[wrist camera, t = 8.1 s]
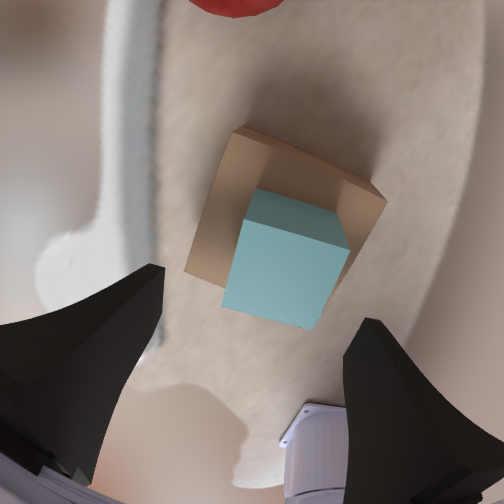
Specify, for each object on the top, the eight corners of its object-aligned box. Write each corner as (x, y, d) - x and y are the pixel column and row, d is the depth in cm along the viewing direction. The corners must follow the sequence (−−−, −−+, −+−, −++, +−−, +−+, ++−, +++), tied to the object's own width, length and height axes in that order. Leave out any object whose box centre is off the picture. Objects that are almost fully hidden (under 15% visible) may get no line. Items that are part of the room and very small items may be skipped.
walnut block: (311, 284, 21) (314, 322, 18) (201, 240, 21) (183, 271, 17) (369, 180, 18) (387, 201, 14) (244, 125, 17) (232, 131, 13)
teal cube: (309, 280, 16) (312, 330, 13) (236, 259, 16) (221, 306, 13) (336, 212, 15) (350, 250, 11) (255, 187, 15) (243, 218, 11)
